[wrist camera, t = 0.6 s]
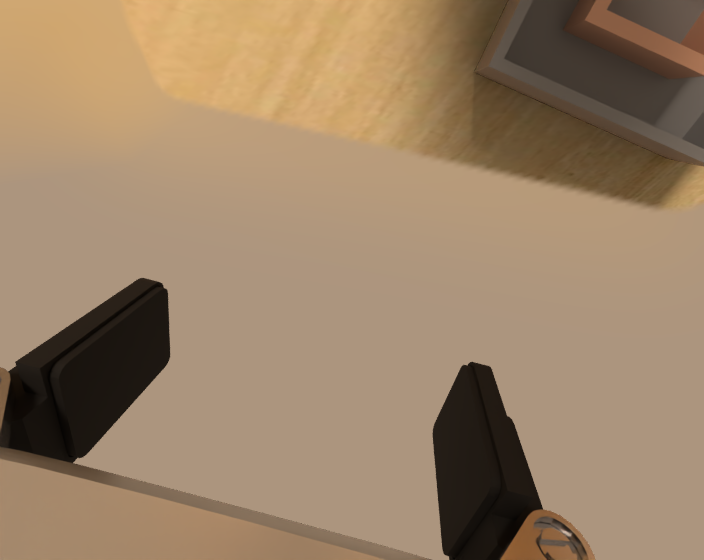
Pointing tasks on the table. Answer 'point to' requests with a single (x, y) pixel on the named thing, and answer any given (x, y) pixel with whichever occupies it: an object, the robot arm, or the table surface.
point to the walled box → (610, 66)
